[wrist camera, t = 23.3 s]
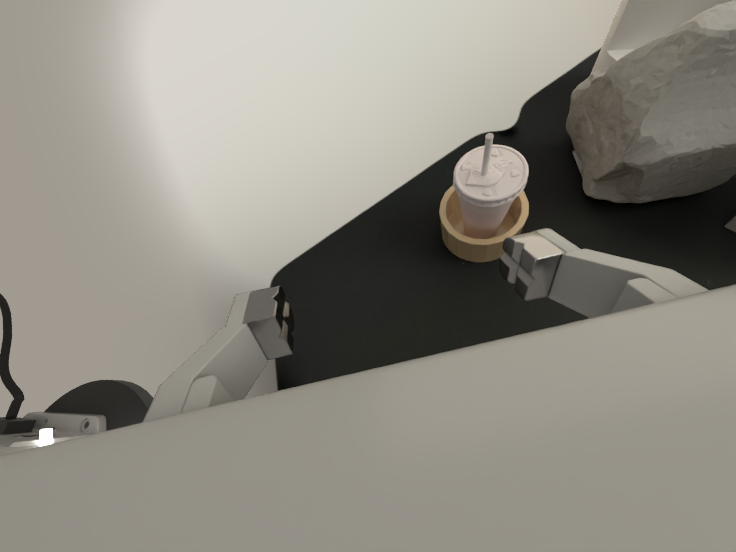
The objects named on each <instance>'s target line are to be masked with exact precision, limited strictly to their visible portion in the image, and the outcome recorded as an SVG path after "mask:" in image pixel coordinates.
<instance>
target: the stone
mask: <svg viewBox="0 0 736 552" xmlns="http://www.w3.org/2000/svg"><path fill="white" fill-rule="evenodd" d="M566 131H567V132H568V134H569V136H570V137H571V139H572V144H573V146H574V149H575V151H572V153H573V155H574V158H575V160H576V163H577V166H578V168H579V171H580V174H581V176H582V179H583V184H582V185H583V190H584V193H585V194H586V195H588V196H590V197H592V198H594V199H602V200H608V201H611V202H615V203H645V202H650V201H656V200H661V199H667V198H674V197H682V196H688V195H692V194H695V193H699V192H703V191H706V190H709V189H711V188H714V187H716V186H719V185H721V184H723V183H725V182H726V181H728V180H729V179H730V178H731V177H732V176H734V175H735V174H736V0H734V1H729V2H725V3H721V4H718V5H716V6H714V7H712V8H710V9H708V10H705V11H703V12H702V13H700V14H698V15H696V16H695V17H693V18H691V19H690V20H688V21H686V22H684V23H683V24H681V25H680V26H679V27H677V28H676V29H674V30H673V31H671V32H669V33H668V34H666V35H664V36H661V37H659V38H657V39H654V40H652V41H651V42H649V43H647V44H645V45H644V46H642V47H640V48H637V49H635V50H633V51H632V52H630V53H628V54H626V55H625V56H623V57H622V58H620V59H619V60H618V61H616V62H615V63H614V64H612V65H611V66H610V67H609V68H606V69H602V70H600V71H597V72H594V73H592V74H590V76H589V77H588V78H587V79H586V80H585V81H583V82H582V83H581V84H579V85H578V86H577V87H576V89H575V90H574V91H573V92H572V94H571V105H570V112H569V115H568V117H567V122H566Z"/></svg>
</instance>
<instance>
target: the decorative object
mask: <svg viewBox="0 0 736 552" xmlns="http://www.w3.org/2000/svg"><path fill="white" fill-rule="evenodd" d="M724 227H726V228H728V229H730V230H732V231H733V232H735V233H736V216H735V217H733V218H732V219H731V220H730V221H729V222H728V223H727V224H725V225H724Z"/></svg>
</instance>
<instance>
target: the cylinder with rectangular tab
mask: <svg viewBox="0 0 736 552" xmlns="http://www.w3.org/2000/svg"><path fill="white" fill-rule="evenodd" d="M729 1H734V0H622V1H621V4H620V6H619V8H618V11H617V13H616V15H615V18H614V20H613V23H612V25H611V27H610V30H609V32H608V34H607V37H606V39H605V41H604V44H603V46H602V48H601V51H600V53H599V55H598V58H597V60H596V63H595V65H594V67H593V70H592V72H591V74H592V73H594V72H597V71H600V70H602V69H606V68H609V67H610V66H611V65H612V64H614V63H615V62H616V61H618V60H619V59H620V58H622V57H623V56H625V55H626V54H628V53H630V52H632V51H633V50H635V49H637V48H640V47H642V46H644V45H645V44H647V43H649V42H651V41H652V40H654V39H657V38H659V37H661V36H664V35H666V34H668V33H669V32H671V31H673V30H674V29H676V28H677V27H679V26H680V25H681V24H683V23H684V22H686V21H688V20H690V19H691V18H693V17H695V16H696V15H698V14H700V13H702V12H703V11H705V10H708V9H710V8H712V7H714V6H716V5H718V4H721V3H725V2H729Z"/></svg>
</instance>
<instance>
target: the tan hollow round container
mask: <svg viewBox="0 0 736 552" xmlns="http://www.w3.org/2000/svg"><path fill="white" fill-rule="evenodd" d="M528 215H529V202H528V199H527V197H526V195H525V192H524V191H522V192H521V193H520V194H519V196H517V197H516V198H515V199H514V201H513V202H512V204H511V206H510V208H509V210H508V211H507V213H506V215H505V217H504V219H503V221H502V223H501V224H500V226H499V228H498V230H497V232H496V233H495V235H494V236H493V237H491V238H489V239H473V238H471V237H469V236H468V235H467V233H466V231H465V227H464V221H463V216H462V211H461V205H460V200H459V196H458V194H457V192H456V191H455V189H454V185H453V186H451V187H450V188H449V189H448V190H447V191H446V193H445V194H444V196H443V198H442V200H441V203H440V210H439V217H440V229H441V235H442V239H443V242H444V244H445V245H446V247H447V248H448V249H449V250H450V251H451V252H452V253H453V254H454V255H456V256H457V257H459V258H461V259H464V260H467V261H471V262H488V261H493V260H496V259H498V258H500V257H502V255H503V254H504V253H505V251H504V250H503V248H502V246H503V241H504V240H505V238H507V237H512V236H516V235H520V234H521V232H522V229H523V227H524V225H525V222H526V220H527V217H528Z"/></svg>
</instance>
